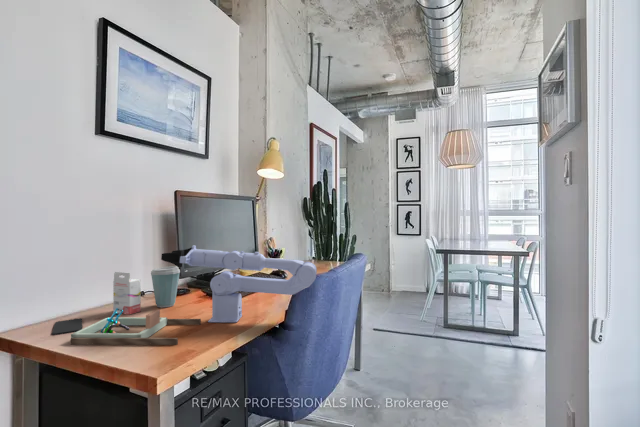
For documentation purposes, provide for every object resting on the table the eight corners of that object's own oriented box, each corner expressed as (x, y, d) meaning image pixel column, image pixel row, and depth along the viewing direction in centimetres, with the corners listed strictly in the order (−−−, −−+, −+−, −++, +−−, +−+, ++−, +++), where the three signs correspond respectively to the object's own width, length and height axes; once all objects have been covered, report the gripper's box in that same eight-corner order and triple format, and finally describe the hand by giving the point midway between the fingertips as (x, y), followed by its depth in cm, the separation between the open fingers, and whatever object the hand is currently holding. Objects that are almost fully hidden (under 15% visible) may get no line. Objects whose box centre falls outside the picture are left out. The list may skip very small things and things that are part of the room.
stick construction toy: (103, 321, 108) (118, 302, 108) (124, 331, 111) (139, 312, 110) (90, 345, 97) (107, 324, 97) (114, 355, 100) (130, 334, 99)
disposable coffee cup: (149, 310, 128) (149, 269, 128) (151, 303, 138) (151, 266, 138) (180, 307, 133) (180, 268, 133) (179, 301, 142) (179, 264, 143)
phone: (82, 317, 118) (82, 329, 106) (82, 320, 118) (82, 332, 106) (55, 321, 114) (51, 334, 101) (55, 324, 114) (51, 336, 101)
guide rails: (200, 323, 112) (200, 318, 112) (176, 344, 94) (176, 338, 94) (112, 323, 113) (112, 318, 113) (70, 344, 94) (70, 338, 94)
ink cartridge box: (141, 311, 127) (141, 271, 127) (129, 315, 123) (129, 273, 123) (124, 309, 130) (124, 269, 131) (112, 312, 126) (112, 271, 126)
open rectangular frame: (167, 324, 111) (167, 305, 111) (140, 342, 95) (140, 320, 95) (107, 324, 112) (107, 305, 112) (70, 342, 96) (71, 320, 96)
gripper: (214, 244, 125) (177, 241, 125) (200, 248, 110) (157, 245, 110) (213, 264, 125) (175, 261, 125) (198, 270, 110) (156, 267, 110)
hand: (167, 255), depth 117 cm, fingers open, 7 cm apart
